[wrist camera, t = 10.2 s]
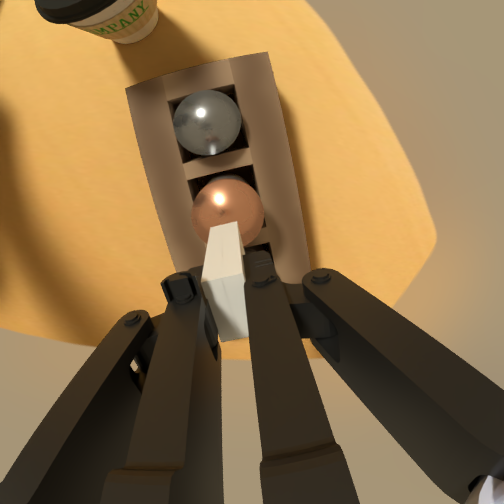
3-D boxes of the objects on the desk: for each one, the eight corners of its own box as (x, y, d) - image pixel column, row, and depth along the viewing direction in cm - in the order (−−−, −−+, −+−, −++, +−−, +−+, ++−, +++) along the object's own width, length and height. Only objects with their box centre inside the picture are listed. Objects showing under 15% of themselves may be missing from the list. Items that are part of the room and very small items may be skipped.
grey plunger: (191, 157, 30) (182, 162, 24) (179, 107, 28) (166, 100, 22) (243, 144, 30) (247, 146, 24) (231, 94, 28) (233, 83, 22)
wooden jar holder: (202, 305, 37) (199, 333, 32) (142, 96, 28) (125, 88, 22) (303, 281, 37) (316, 307, 32) (260, 66, 28) (267, 51, 22)
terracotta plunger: (207, 231, 30) (202, 257, 24) (192, 178, 28) (182, 190, 22) (261, 218, 30) (270, 241, 24) (249, 164, 28) (255, 172, 22)
